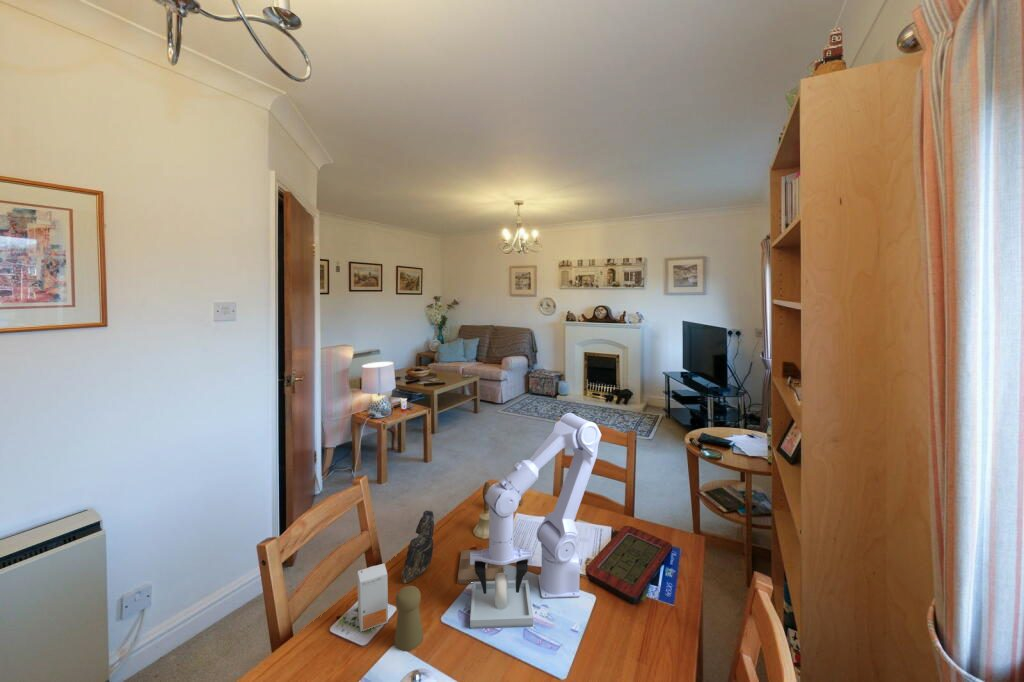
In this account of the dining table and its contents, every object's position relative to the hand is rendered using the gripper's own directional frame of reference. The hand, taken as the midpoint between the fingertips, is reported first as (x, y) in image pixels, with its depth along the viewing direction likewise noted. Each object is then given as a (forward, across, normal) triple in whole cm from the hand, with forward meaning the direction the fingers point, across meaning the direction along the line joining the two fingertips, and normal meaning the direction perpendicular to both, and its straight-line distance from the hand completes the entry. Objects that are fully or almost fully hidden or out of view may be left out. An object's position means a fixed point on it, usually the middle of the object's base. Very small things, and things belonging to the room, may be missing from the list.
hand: (501, 590), depth 92 cm
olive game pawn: (+4, +20, +8) cm, 22 cm away
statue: (+4, +22, -13) cm, 26 cm away
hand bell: (+4, +4, -31) cm, 32 cm away
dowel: (+4, 0, 0) cm, 4 cm away
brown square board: (+4, +5, -14) cm, 15 cm away
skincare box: (+4, +29, +3) cm, 29 cm away
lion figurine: (+4, -3, -45) cm, 45 cm away
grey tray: (+4, 0, 0) cm, 4 cm away
